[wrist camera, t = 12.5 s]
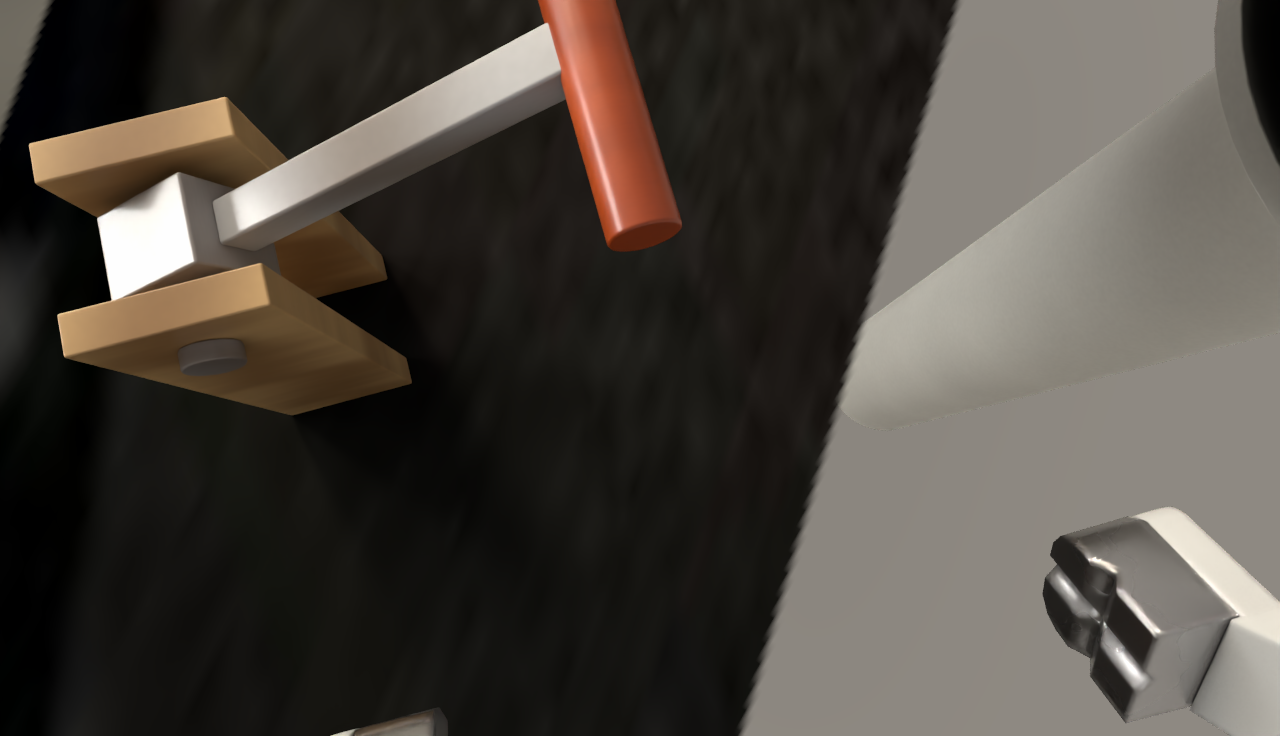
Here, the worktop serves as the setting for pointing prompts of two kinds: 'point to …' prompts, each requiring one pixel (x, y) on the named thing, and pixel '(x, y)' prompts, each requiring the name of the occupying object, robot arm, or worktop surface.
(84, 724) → the worktop surface
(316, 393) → the bracket
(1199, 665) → the robot arm
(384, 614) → the worktop surface
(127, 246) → the lever
